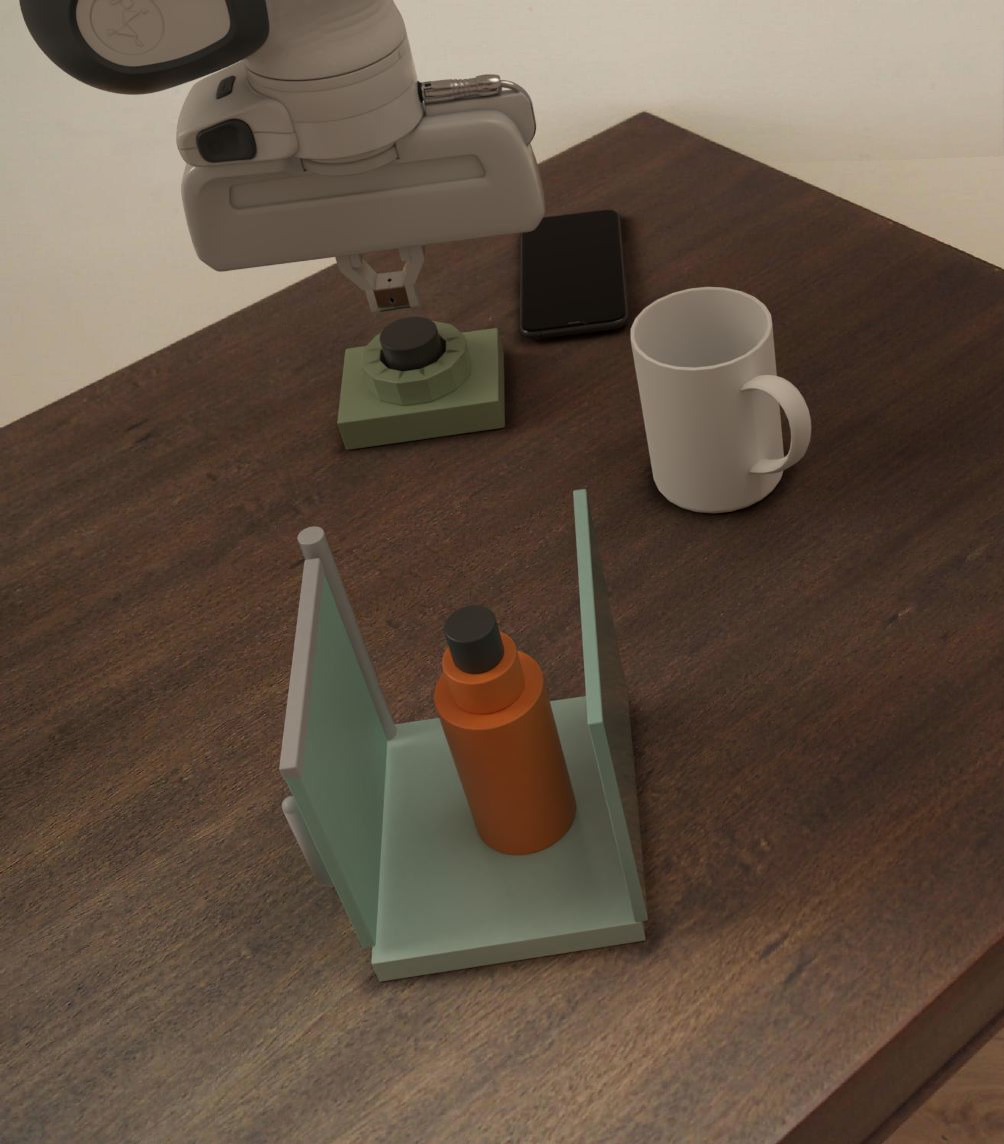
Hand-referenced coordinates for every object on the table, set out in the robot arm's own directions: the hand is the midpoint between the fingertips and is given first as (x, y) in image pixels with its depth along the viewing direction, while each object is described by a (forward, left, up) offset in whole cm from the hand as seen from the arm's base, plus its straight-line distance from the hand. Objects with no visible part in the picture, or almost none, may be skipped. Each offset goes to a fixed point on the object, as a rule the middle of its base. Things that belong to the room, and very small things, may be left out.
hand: (396, 304), depth 96 cm
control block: (0, 0, -8) cm, 8 cm away
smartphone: (+10, +12, -8) cm, 18 cm away
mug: (+19, -13, -8) cm, 24 cm away
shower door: (-1, -36, -5) cm, 37 cm away
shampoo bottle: (+6, -36, -6) cm, 37 cm away
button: (0, 0, -4) cm, 4 cm away
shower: (+5, -36, -8) cm, 37 cm away
